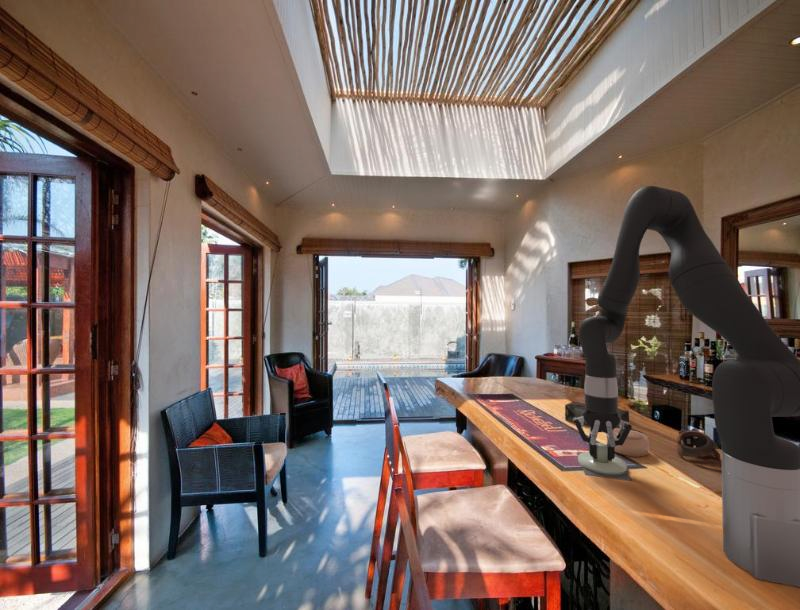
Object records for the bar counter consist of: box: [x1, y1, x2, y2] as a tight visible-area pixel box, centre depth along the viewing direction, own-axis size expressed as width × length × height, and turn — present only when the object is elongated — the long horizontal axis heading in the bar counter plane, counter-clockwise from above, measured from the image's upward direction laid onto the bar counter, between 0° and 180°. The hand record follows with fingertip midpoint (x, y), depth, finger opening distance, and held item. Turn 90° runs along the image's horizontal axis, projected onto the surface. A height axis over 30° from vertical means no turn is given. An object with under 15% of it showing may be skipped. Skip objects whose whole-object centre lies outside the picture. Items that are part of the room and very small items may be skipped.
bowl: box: [606, 428, 649, 458], centre depth 99 cm, size 10×10×5 cm
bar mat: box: [576, 451, 633, 482], centre depth 90 cm, size 14×10×1 cm
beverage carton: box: [564, 401, 630, 429], centre depth 124 cm, size 8×19×7 cm, turn 43°
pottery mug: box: [676, 428, 721, 461], centre depth 96 cm, size 12×10×8 cm
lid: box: [577, 442, 628, 475], centre depth 90 cm, size 11×11×5 cm
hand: (601, 458), depth 90 cm, fingers closed on lid, 3 cm apart
